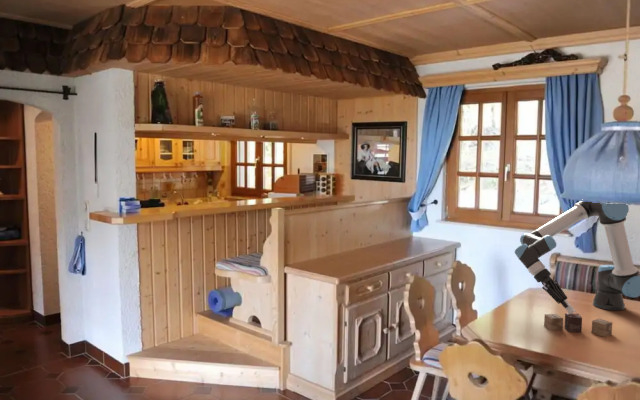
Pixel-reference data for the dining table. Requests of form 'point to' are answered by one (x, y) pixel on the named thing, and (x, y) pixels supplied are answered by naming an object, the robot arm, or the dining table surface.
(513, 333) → the dining table surface
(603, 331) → the marked block one
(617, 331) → the dining table surface
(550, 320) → the marked block two
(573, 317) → the box
